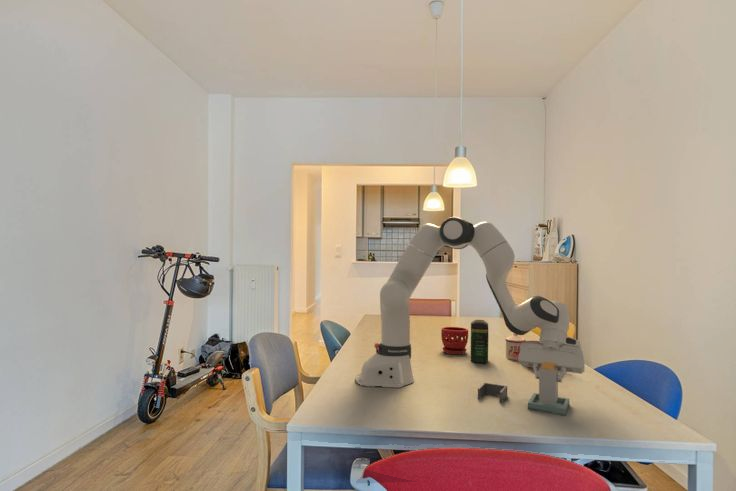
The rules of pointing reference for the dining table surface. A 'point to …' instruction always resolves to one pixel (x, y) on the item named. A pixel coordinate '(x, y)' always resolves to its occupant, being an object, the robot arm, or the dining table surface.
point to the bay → (493, 390)
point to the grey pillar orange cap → (548, 383)
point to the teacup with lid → (513, 346)
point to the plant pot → (454, 340)
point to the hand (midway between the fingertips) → (548, 379)
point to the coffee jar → (479, 341)
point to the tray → (549, 405)
